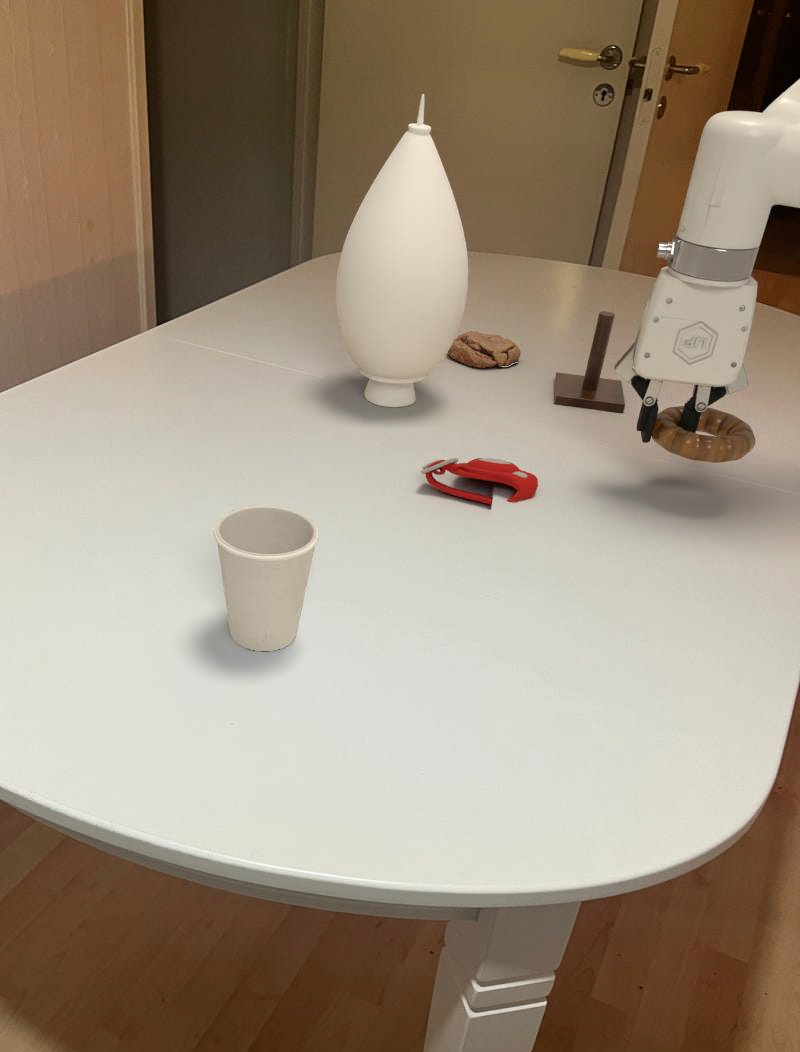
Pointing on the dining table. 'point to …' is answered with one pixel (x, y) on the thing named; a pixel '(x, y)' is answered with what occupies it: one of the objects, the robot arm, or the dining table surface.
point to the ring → (704, 436)
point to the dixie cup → (265, 572)
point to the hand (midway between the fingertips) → (663, 438)
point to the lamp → (403, 272)
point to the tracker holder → (483, 477)
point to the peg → (592, 377)
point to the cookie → (484, 350)
